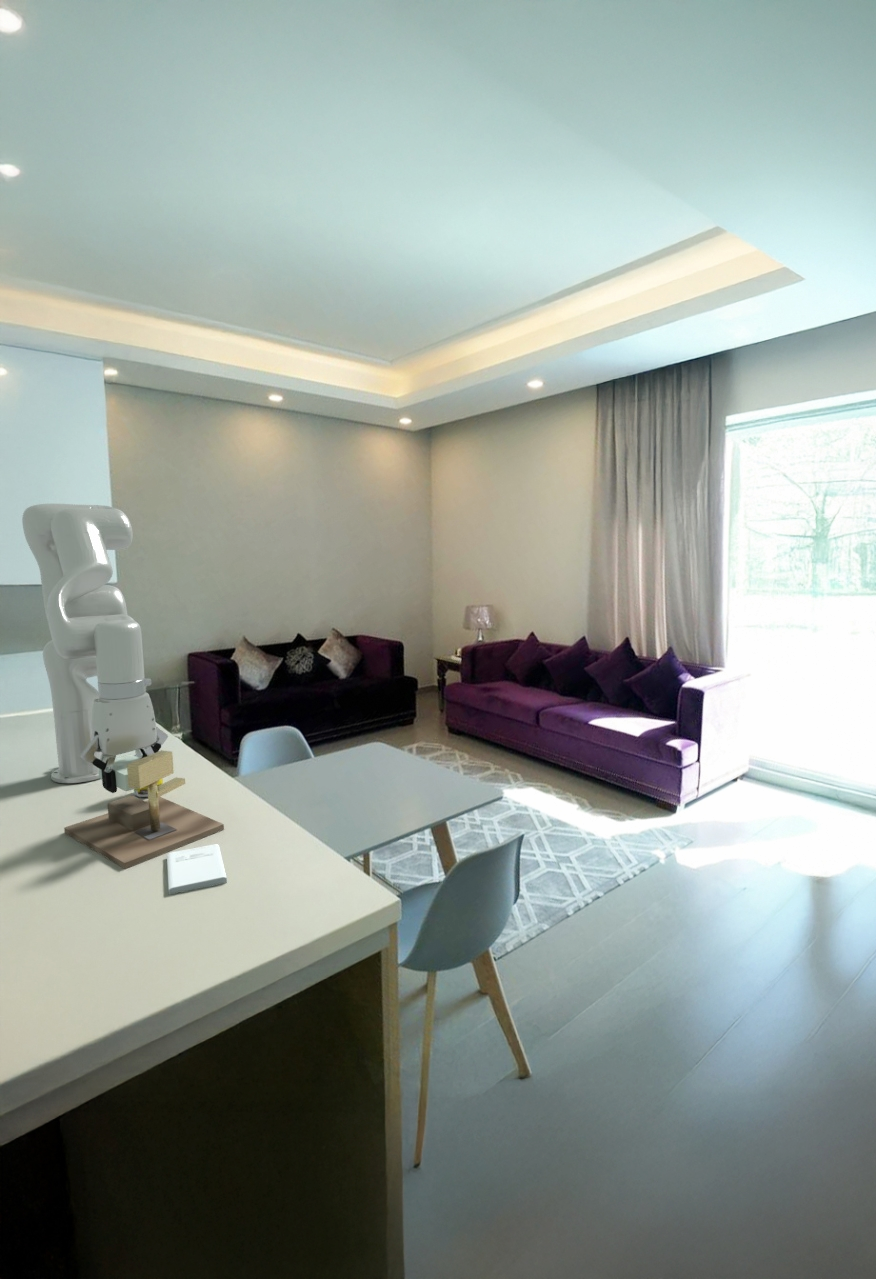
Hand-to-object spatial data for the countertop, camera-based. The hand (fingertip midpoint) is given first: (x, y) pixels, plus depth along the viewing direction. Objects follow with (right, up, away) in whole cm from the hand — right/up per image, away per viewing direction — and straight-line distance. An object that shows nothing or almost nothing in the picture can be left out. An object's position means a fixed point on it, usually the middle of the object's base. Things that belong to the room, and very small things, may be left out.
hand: (129, 784), depth 117 cm
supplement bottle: (-4, -6, +16) cm, 18 cm away
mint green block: (0, +1, 0) cm, 1 cm away
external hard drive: (+18, -11, -16) cm, 26 cm away
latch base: (+4, -8, -2) cm, 9 cm away
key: (+7, -7, -3) cm, 10 cm away
